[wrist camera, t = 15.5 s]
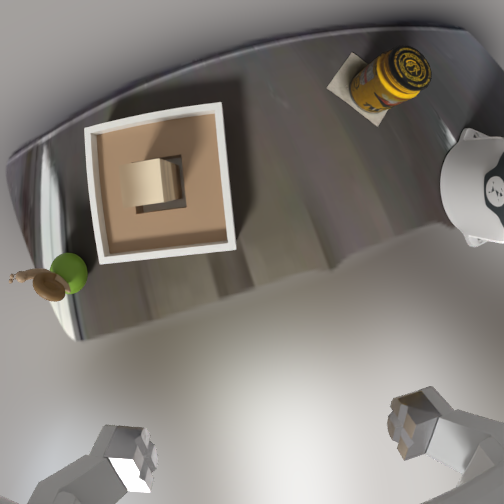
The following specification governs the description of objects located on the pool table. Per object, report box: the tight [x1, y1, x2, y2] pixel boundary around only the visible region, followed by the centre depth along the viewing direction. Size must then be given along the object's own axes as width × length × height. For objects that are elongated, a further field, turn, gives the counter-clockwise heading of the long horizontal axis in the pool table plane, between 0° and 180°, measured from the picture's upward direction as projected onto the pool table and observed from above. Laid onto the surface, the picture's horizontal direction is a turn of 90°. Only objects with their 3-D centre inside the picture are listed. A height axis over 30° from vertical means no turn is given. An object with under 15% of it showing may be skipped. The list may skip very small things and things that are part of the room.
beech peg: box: [119, 158, 183, 208], centre depth 31 cm, size 4×4×10 cm
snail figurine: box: [9, 253, 88, 301], centre depth 33 cm, size 5×6×12 cm
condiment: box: [327, 46, 431, 126], centre depth 30 cm, size 7×8×12 cm
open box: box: [84, 102, 236, 264], centre depth 34 cm, size 16×16×6 cm
